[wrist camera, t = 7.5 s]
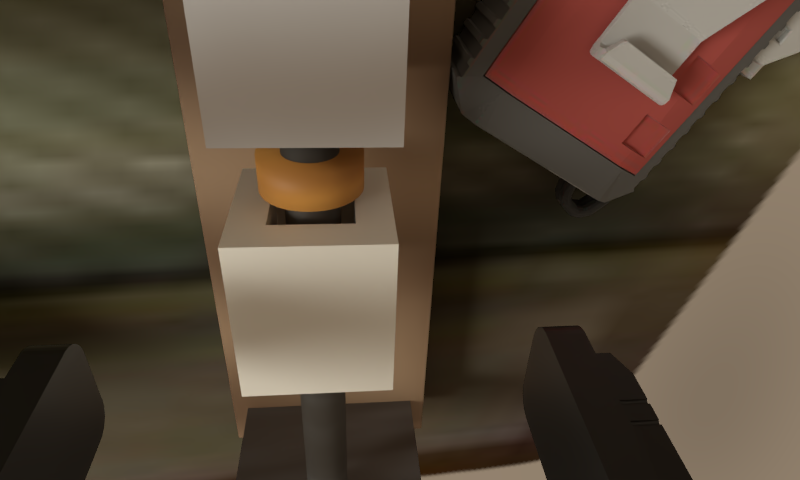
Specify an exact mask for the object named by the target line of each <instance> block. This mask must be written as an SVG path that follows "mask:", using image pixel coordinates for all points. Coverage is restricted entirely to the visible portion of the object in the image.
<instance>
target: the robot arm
mask: <svg viewBox="0 0 800 480" xmlns="http://www.w3.org/2000/svg"><path fill="white" fill-rule="evenodd" d="M523 403H524V410H525V415H526V418H527V421H528V424H529V427H530V430H531V433H532V436H533V439H534V442H535V445H536V448H537V451H538V454H539V457H540V460H541V463H542V466H543V469H544V472H545V475H546V478H547V480H693V479H692V478H691V476H690V474H689V472H688V471H687V469H686V467H685V465H684V463H683V462H682V460H681V458H680V456H679V455H678V453H677V451H676V449H675V447H674V446H673V444H672V442H671V440H670V439H669V437H668V435H667V433H666V431H665V430H664V428H663V426H662V425H660V424H659V421H658V420H659V419H658V417H657V416H656V414H655V412H654V410H653V408H652V407H651V405H650V404H648V403H647V398H646V396H645V394H644V392H643V391H642V389H641V387H640V385H639V384H638V382H637V380H636V378H635V376H634V375H633V373H632V372H631V371H629V370H628V369H627V368H626V367H625V366H624V365H623V364H622V363H621V362H620V361H618V360H617V359H616V358H615V357H614V356H613V355H612V354H611V353H598V354H596V353H595V351H594V349H593V347H592V346H591V344H590V342H589V340H588V338H587V336H586V334H585V332H584V330H583V329H582V328H581V327H580V326H554V327H538V328H537V329H536V331H535V333H534V337H533V342H532V346H531V351H530V356H529V360H528V365H527V369H526V374H525V379H524V384H523ZM104 421H105V412H104V405H103V401H102V398H101V396H100V393H99V390H98V388H97V385H96V383H95V380H94V377H93V375H92V372H91V369H90V367H89V364H88V361H87V359H86V356H85V354H84V351H83V349H82V348H81V347H80V346H79V345H77V344H64V345H38V346H28V347H26V348H25V349H24V350H23V351H22V352H21V353H20V354H19V356H18V357H17V359H16V361H15V362H14V364H13V365H12V367H11V369H10V370H9V372H8V373H7V375H6V377H5V378H0V480H85V478H86V476H87V473H88V471H89V468H90V466H91V463H92V461H93V458H94V456H95V453H96V451H97V448H98V445H99V443H100V440H101V437H102V434H103V429H104Z"/></svg>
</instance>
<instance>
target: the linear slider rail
mask: <svg viewBox="0 0 800 480" xmlns="http://www.w3.org/2000/svg"><path fill="white" fill-rule="evenodd" d="M162 1H163V7H164V12H165V18H166V24H167V29H168V35H169V41H170V47H171V52H172V58H173V64H174V69H175V75H176V81H177V86H178V92H179V98H180V104H181V109H182V115H183V121H184V126H185V132H186V138H187V143H188V149H189V155H190V161H191V166H192V172H193V178H194V183H195V189H196V195H197V200H198V206H199V212H200V218H201V223H202V229H203V235H204V240H205V246H206V252H207V258H208V263H209V269H210V275H211V280H212V286H213V292H214V297H215V303H216V309H217V315H218V320H219V326H220V332H221V337H222V343H223V349H224V354H225V360H226V366H227V372H228V377H229V383H230V389H231V394H232V400H233V406H234V411H235V417H236V423H237V429H238V434H239V438H240V437H243V441H242V447H241V453H240V460H239V466H238V472H237V478H236V480H421V476H420V469H419V462H418V454H417V447H416V440H415V432H414V429H416V428H421V423H422V410H423V398H424V386H425V373H426V361H427V348H428V336H429V324H430V311H431V299H432V286H433V274H434V262H435V249H436V237H437V224H438V212H439V200H440V187H441V175H442V162H443V150H444V138H445V125H446V113H447V100H448V88H449V76H450V63H451V51H452V38H453V26H454V14H455V1H456V0H162ZM375 167H386V169H387V175H388V181H389V188H390V194H391V200H392V206H393V212H394V218H395V225H396V231H397V237H398V243H399V249H398V274H397V300H396V325H395V351H394V376H393V390H382V391H360V392H337V393H315V394H292V395H270V396H248V397H242V394H241V388H240V382H239V376H238V370H237V363H236V357H235V351H234V345H233V339H232V333H231V326H230V320H229V314H228V308H227V302H226V296H225V289H224V283H223V277H222V271H221V265H220V259H219V252H218V246H219V243H220V239H221V236H222V233H223V230H224V227H225V223H226V220H227V217H228V214H229V211H230V207H231V204H232V201H233V198H234V195H235V191H236V188H237V185H238V182H239V179H240V175H241V172H242V169H255V168H256V173H257V182H258V191H259V194H260V196H261V197H262V198H263V199H264V200H265V201H266V202H268V203H269V204H271V205H273V206H276V207H279V208H282V209H285V219H286V225H301V224H341V207H342V206H344V205H347V204H349V203H351V202H353V201H354V200H356V199H357V198H358V197H359V196H360V195H361V194H362V192H363V190H364V168H375Z"/></svg>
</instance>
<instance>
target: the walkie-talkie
mask: <svg viewBox="0 0 800 480" xmlns="http://www.w3.org/2000/svg"><path fill="white" fill-rule="evenodd" d="M475 6H476V8H477V10H476V11H475V13H474V14H473V16H472V17H471V19H469V18H466V20H465V21H464V25H465V28H464V29H463V31H462V32H461V34H460V35H459V36H456V35H455V37H454V38H453V40H452V41H453V42H454V44H453V46H452V51H451V63H450V76H449V89H450V91H451V93H452V95H453V97H454V99H455V101H456V103H457V105H458V107H459V109H460V111H461V113H462V115H464V116H465V117H466V118H467V119H469V120H470V121H471V122H472V123H474V124H475V125H477V126H478V127H480V128H481V129H483V130H484V131H486V132H488V133H489V134H491V135H493V136H494V137H496V138H497V139H499V140H501V141H502V142H504V143H505V144H507V145H509V146H510V147H512V148H514V149H515V150H517V151H518V152H520V153H522V154H523V155H525V156H527V157H528V158H530V159H531V160H533V161H535V162H536V163H538V164H539V165H541V166H543V167H544V168H546V169H548V170H549V171H551V172H552V173H554V174H556V175H557V176H559V177H560V179H559V181H558V184H557V186H556V188H555V191H556V199H557V200H558V201H559V202H560V205H561V206H562V207H563V208H564V209H565V211H566V212H567V213H568V214H569V215H571V216H575V217H578V218H579V217H585V216H590V215H592V214H593V213H595V212H596V211H598V210H599V209H601V208H602V207H604V206H605V205H607V204H608V203H609V202H610V201H611V200H613V199H615V198H618V197H621V196H623V195H626V194H628V193H631V192H633V191H634V188H635V187H636V186H637V184H638V183H639V182H640V181H641V180H644V179H645V178H646V177H647V176H648V175H647V174H648V173H649V171H650V170H651V169H652V168H653V167H654V166H655V165H658V164H659V163H660V162H661V158H662V157H663V156H664V155H665V154H666V153H667V152H668V151H669V150H672V149H673V148H674V147H675V143H676V142H677V141H678V140H679V139H680V138H681V137H682V136H683V135H684V134H687V133H688V132H689V131H690V127H691V126H692V125H693V124H694V123H695V122H696V120H697V119H698V118H702V117H703V115H704V114H705V111H706V110H707V108H708V107H709V106H710V105H711V104H712V103H713V102H716V101H717V100H718V99H719V98H720V94H721V93H722V92H723V91H724V90H725V89H726V88H727V87H728V86H729V85H732V84H733V83H734V82H735V81H736V77H737V76H738V75H739V74H740V75H742V76H744V77H746V78H748V79H750V80H751V79H752V78H753V76H754V75H755V74H756V73H757V72H758V71H759V70H760V69H761V68H762V67H763V66H764V65H766V64H769V63H772V62H774V61H777V60H780V59H782V58H785V57H788V56H791V55H793V54H796V53H799V52H800V0H483V1H479V0H478V2H477V3H476V5H475ZM576 187H577V188H578V189H580V190H581V191H583V192H585V193H586V194H588V195H586V196H584V197H583V198H581V199H579V200H574V199H572V198H571V196H572V194H573V192H574V190H575V188H576Z"/></svg>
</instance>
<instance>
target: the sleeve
mask: <svg viewBox="0 0 800 480" xmlns="http://www.w3.org/2000/svg"><path fill="white" fill-rule="evenodd" d="M398 249H399V243H398V237H397V231H396V225H395V218H394V212H393V206H392V200H391V194H390V188H389V181H388V175H387V169H386V167H375V168H364V190H363V192H362V194H361V195H360V196H359V197H358V198H357V199H356V200H354V201H353V202H351V203H349V204H347V205H344V206H342V207H341V224H301V225H286V219H285V209H282V208H279V207H276V206H273V205H271V204H269V203H268V202H266V201H265V200H264V199H263V198H262V197H261V196H260V194H259V191H258V182H257V173H256V168H255V169H242V172H241V175H240V179H239V182H238V185H237V188H236V191H235V195H234V198H233V201H232V204H231V207H230V211H229V214H228V217H227V220H226V223H225V227H224V230H223V233H222V236H221V239H220V243H219V246H218V252H219V259H220V265H221V271H222V277H223V283H224V289H225V296H226V302H227V308H228V314H229V320H230V326H231V333H232V339H233V345H234V351H235V357H236V363H237V370H238V376H239V382H240V388H241V394H242V397H248V396H270V395H292V394H315V393H337V392H360V391H382V390H393V376H394V351H395V325H396V300H397V274H398Z"/></svg>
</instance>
